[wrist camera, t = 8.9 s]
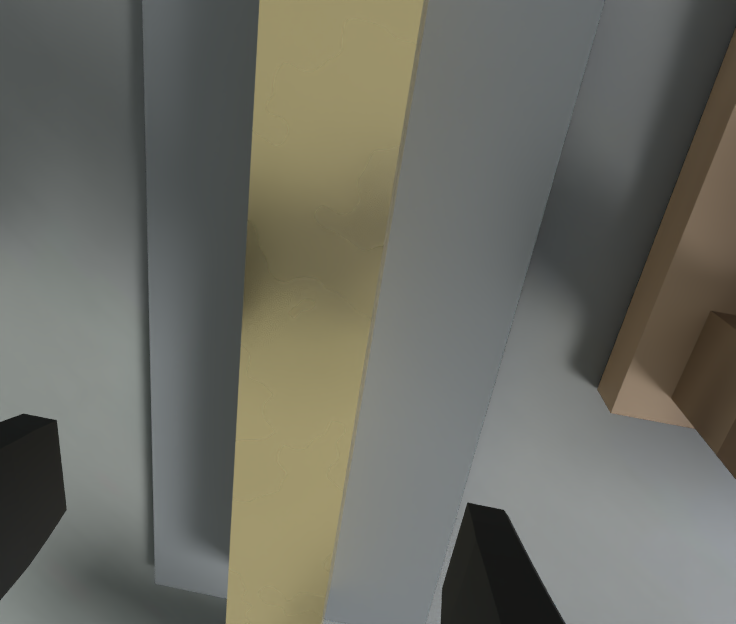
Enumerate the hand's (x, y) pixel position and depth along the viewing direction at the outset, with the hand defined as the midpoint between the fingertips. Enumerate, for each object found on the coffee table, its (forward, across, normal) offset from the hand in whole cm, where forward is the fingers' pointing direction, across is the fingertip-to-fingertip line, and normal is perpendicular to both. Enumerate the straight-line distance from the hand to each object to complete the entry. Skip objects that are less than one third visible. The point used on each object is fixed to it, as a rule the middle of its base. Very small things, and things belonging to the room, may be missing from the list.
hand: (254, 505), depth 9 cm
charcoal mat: (+7, 0, 0) cm, 7 cm away
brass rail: (+5, 0, 0) cm, 5 cm away
